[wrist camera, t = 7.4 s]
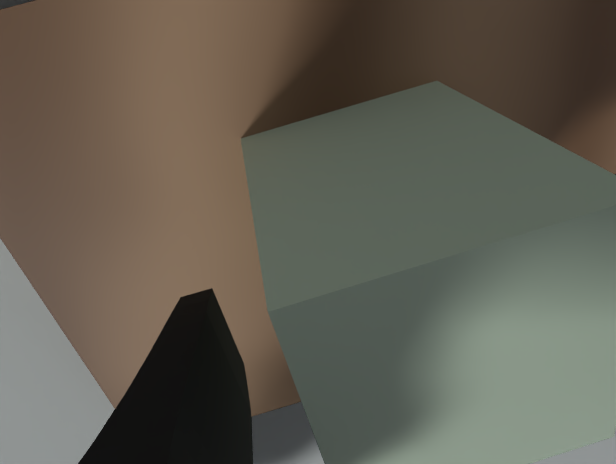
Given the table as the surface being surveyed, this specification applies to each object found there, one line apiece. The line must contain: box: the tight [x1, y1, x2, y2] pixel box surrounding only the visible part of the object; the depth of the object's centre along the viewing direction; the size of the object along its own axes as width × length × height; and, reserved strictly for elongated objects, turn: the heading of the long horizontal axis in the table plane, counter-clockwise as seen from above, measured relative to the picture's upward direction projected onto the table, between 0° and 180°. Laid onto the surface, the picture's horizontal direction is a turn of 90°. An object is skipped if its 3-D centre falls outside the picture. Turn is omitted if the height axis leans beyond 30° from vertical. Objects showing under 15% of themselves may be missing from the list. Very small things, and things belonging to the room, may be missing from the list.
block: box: [241, 81, 616, 464], centre depth 9 cm, size 4×4×6 cm
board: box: [0, 0, 616, 417], centre depth 12 cm, size 16×12×2 cm
